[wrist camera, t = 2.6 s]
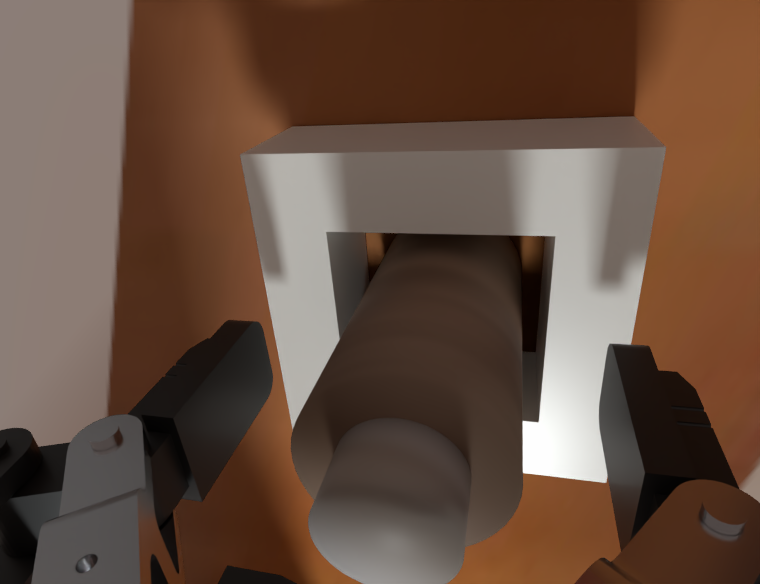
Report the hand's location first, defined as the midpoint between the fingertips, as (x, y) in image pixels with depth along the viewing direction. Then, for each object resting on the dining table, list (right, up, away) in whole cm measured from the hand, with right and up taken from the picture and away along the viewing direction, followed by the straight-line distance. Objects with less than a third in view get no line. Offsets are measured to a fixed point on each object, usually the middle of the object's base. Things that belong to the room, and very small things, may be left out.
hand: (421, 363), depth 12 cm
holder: (+1, +2, +5) cm, 6 cm away
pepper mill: (+1, +2, +5) cm, 6 cm away
